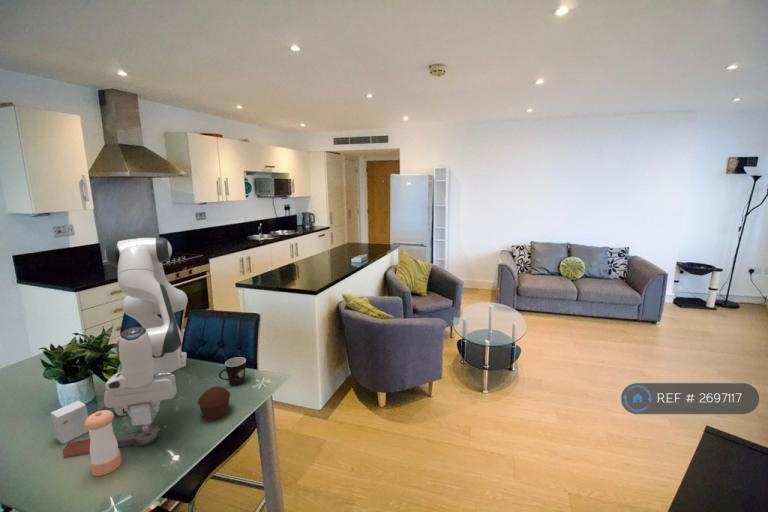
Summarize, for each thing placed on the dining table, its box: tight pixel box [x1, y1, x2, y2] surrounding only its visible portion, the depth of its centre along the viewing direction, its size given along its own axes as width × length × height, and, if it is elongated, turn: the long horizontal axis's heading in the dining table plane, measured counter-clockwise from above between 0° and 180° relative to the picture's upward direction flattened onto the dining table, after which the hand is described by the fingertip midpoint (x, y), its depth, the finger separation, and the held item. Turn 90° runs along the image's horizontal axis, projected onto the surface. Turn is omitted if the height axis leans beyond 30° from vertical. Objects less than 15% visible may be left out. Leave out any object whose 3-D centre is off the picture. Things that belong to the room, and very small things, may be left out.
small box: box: [50, 400, 89, 445], centre depth 119 cm, size 8×6×10 cm
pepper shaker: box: [84, 409, 123, 477], centre depth 104 cm, size 7×7×19 cm
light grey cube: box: [130, 401, 158, 427], centre depth 116 cm, size 6×6×7 cm
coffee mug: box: [218, 356, 247, 387], centre depth 152 cm, size 12×9×10 cm
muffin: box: [197, 386, 231, 421], centre depth 131 cm, size 12×11×10 cm
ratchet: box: [62, 423, 161, 459], centre depth 115 cm, size 7×26×6 cm, turn 107°
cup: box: [112, 405, 131, 417], centre depth 132 cm, size 8×8×10 cm
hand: (144, 413), depth 116 cm, fingers closed on light grey cube, 6 cm apart
